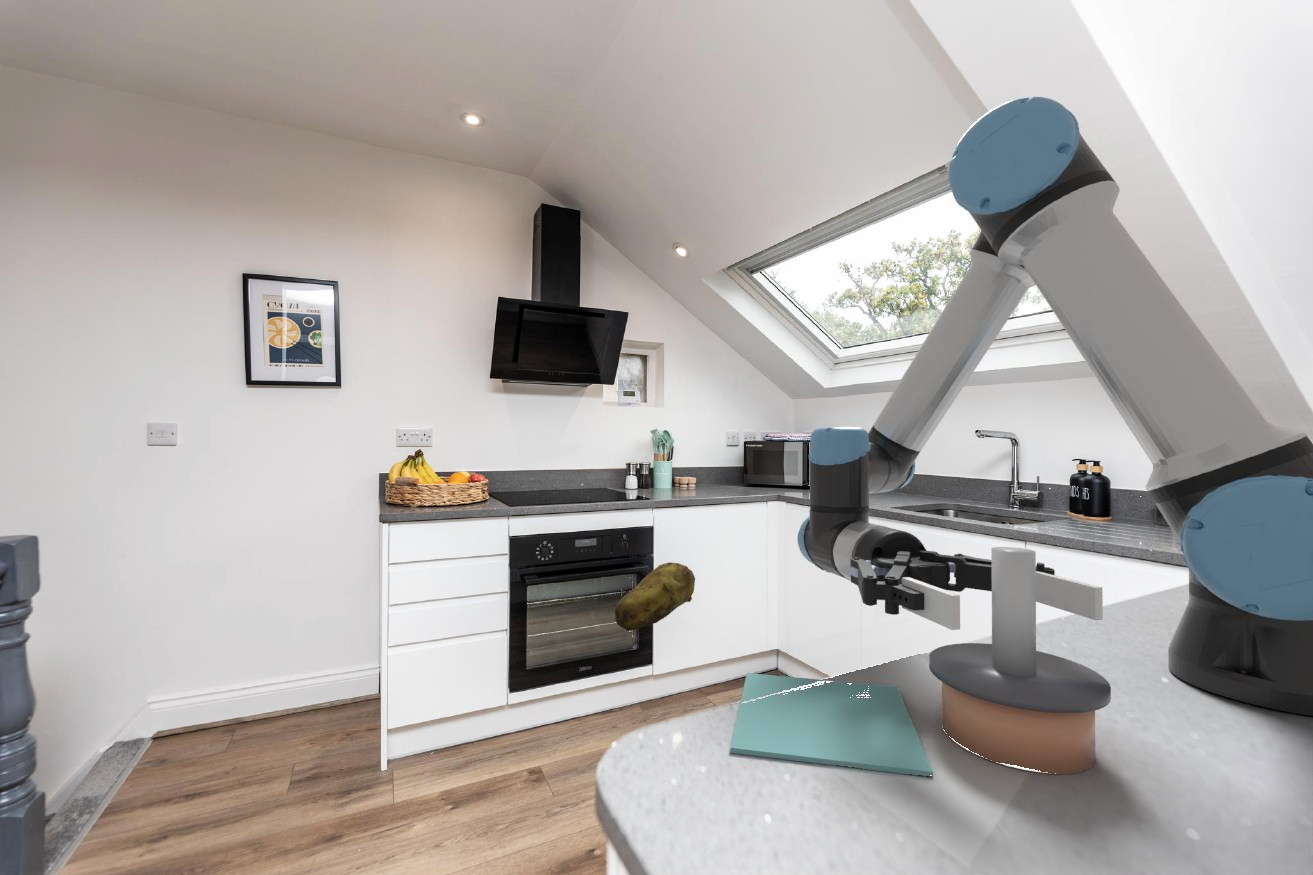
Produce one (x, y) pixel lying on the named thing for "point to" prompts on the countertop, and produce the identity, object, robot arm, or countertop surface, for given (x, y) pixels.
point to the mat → (828, 725)
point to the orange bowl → (1020, 733)
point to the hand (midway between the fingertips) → (1029, 608)
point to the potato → (655, 596)
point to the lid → (1018, 651)
